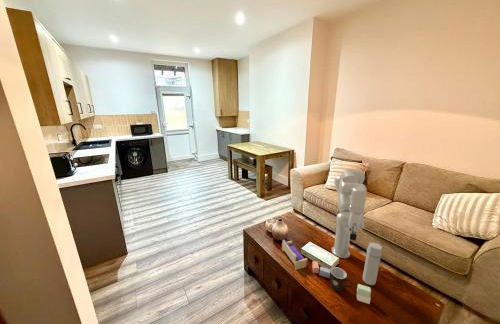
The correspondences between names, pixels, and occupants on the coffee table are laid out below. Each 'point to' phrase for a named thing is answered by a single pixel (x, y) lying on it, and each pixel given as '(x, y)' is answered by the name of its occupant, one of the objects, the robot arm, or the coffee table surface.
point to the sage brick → (363, 290)
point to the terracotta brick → (315, 267)
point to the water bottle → (372, 263)
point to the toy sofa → (294, 255)
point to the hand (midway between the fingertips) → (352, 235)
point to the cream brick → (363, 299)
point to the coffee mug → (338, 279)
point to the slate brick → (324, 272)
